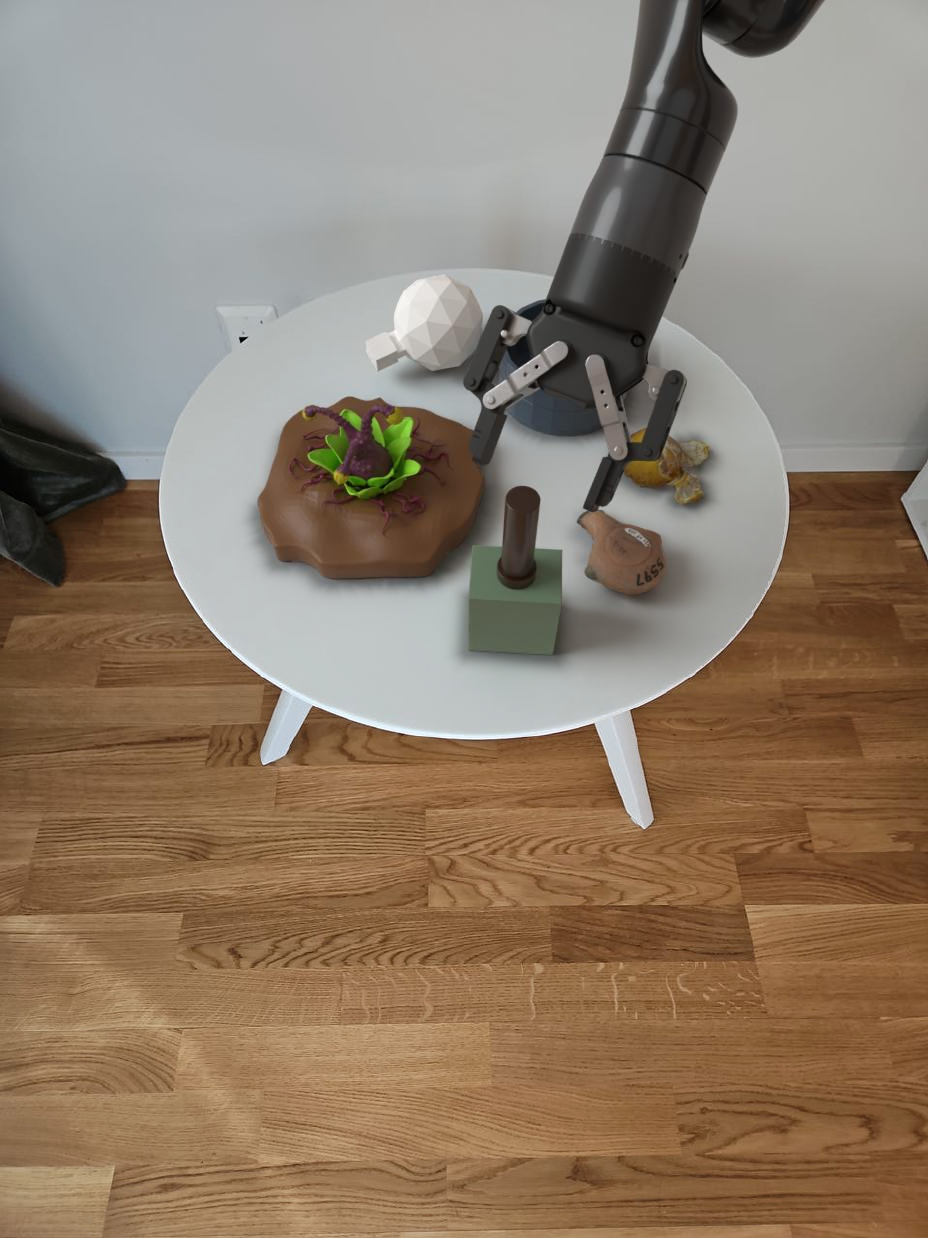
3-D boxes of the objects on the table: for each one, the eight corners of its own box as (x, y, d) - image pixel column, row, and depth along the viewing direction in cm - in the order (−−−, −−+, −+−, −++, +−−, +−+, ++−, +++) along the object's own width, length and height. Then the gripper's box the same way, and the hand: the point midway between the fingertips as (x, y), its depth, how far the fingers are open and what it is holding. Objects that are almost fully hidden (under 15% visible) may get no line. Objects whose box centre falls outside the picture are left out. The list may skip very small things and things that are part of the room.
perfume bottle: (456, 294, 94) (354, 342, 93) (459, 240, 85) (346, 293, 84) (496, 361, 93) (394, 412, 91) (504, 314, 84) (390, 369, 82)
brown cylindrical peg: (536, 558, 69) (545, 482, 62) (535, 590, 68) (544, 517, 60) (497, 556, 69) (501, 480, 62) (495, 588, 68) (499, 515, 60)
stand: (553, 604, 77) (562, 549, 70) (552, 655, 74) (562, 603, 67) (471, 599, 77) (472, 544, 70) (468, 650, 74) (468, 598, 67)
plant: (461, 598, 77) (461, 518, 67) (241, 567, 79) (210, 483, 69) (497, 427, 87) (501, 336, 78) (301, 402, 89) (281, 310, 79)
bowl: (623, 347, 93) (632, 299, 88) (626, 439, 86) (637, 393, 81) (501, 342, 93) (503, 294, 88) (495, 432, 87) (497, 386, 82)
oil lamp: (664, 533, 82) (576, 521, 82) (672, 501, 78) (581, 489, 79) (660, 608, 76) (565, 594, 77) (669, 576, 73) (570, 563, 74)
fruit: (701, 511, 82) (710, 485, 79) (610, 494, 83) (615, 468, 80) (709, 444, 86) (718, 417, 83) (622, 429, 87) (628, 402, 84)
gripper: (510, 202, 56) (425, 448, 61) (726, 274, 53) (618, 530, 57) (541, 230, 63) (462, 449, 68) (734, 296, 60) (637, 522, 64)
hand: (534, 486), depth 63 cm, fingers open, 8 cm apart
